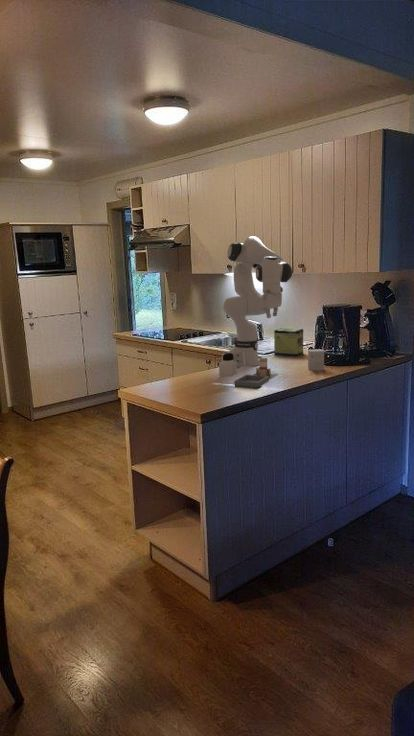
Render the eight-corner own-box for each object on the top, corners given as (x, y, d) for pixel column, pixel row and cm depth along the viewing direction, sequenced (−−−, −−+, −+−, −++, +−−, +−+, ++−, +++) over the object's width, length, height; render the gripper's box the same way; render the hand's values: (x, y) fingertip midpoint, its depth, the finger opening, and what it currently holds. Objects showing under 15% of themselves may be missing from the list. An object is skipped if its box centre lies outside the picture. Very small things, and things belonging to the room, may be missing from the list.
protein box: (297, 356, 318) (297, 331, 314) (273, 354, 326) (273, 330, 323) (303, 353, 326) (303, 328, 323) (280, 352, 335) (280, 327, 331)
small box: (322, 368, 284) (323, 349, 281) (324, 370, 278) (324, 351, 276) (307, 368, 284) (307, 349, 282) (308, 370, 279) (308, 351, 277)
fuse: (258, 376, 265) (257, 359, 263) (261, 374, 268) (261, 357, 267) (265, 377, 263) (265, 359, 261) (268, 375, 267) (268, 358, 265)
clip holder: (247, 379, 264) (247, 369, 262) (257, 374, 274) (256, 365, 273) (270, 381, 258) (270, 371, 257) (278, 376, 268) (278, 366, 267)
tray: (234, 386, 250) (234, 380, 249) (246, 380, 262) (246, 374, 261) (257, 389, 244) (257, 382, 244) (268, 382, 256) (268, 376, 256)
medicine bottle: (236, 375, 275) (236, 352, 272) (231, 378, 268) (231, 355, 266) (224, 374, 278) (223, 351, 275) (219, 377, 271) (218, 354, 269)
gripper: (270, 290, 250) (270, 319, 253) (283, 288, 268) (284, 315, 271) (258, 290, 253) (258, 319, 256) (272, 288, 271) (272, 315, 274)
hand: (271, 317), depth 264 cm, fingers open, 8 cm apart
